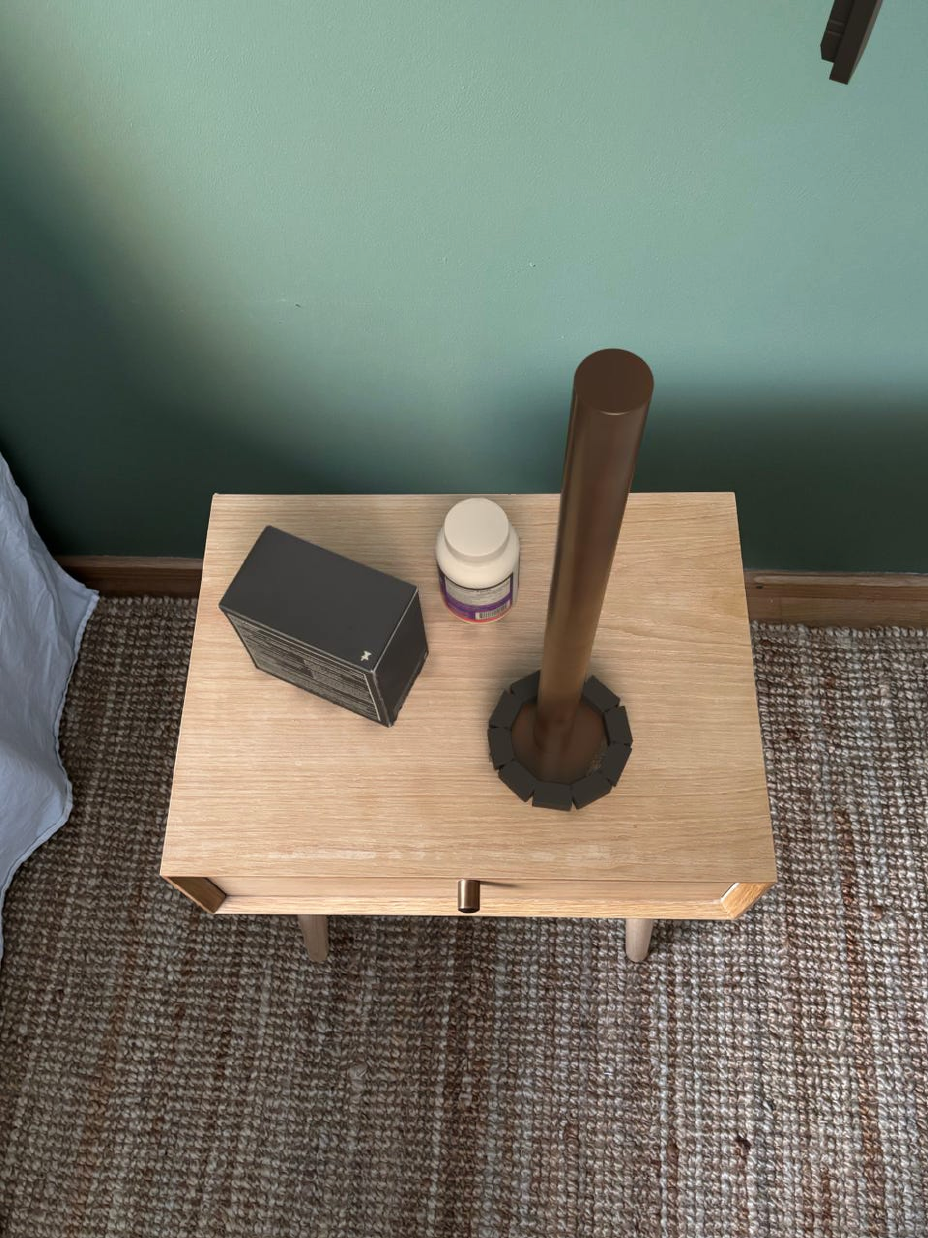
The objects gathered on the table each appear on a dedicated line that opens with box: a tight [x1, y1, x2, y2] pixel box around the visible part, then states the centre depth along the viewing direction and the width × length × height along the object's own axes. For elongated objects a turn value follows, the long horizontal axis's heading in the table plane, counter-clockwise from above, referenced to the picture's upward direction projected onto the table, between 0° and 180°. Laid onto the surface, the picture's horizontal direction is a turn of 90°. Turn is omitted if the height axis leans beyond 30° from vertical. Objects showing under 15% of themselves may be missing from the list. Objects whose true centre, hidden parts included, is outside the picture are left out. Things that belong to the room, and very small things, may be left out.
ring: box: [486, 668, 634, 812], centre depth 65 cm, size 9×9×1 cm
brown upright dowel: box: [489, 347, 655, 784], centre depth 49 cm, size 6×6×40 cm
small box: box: [217, 524, 430, 729], centre depth 65 cm, size 11×6×10 cm, turn 65°
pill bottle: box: [434, 497, 521, 626], centre depth 67 cm, size 5×5×10 cm
